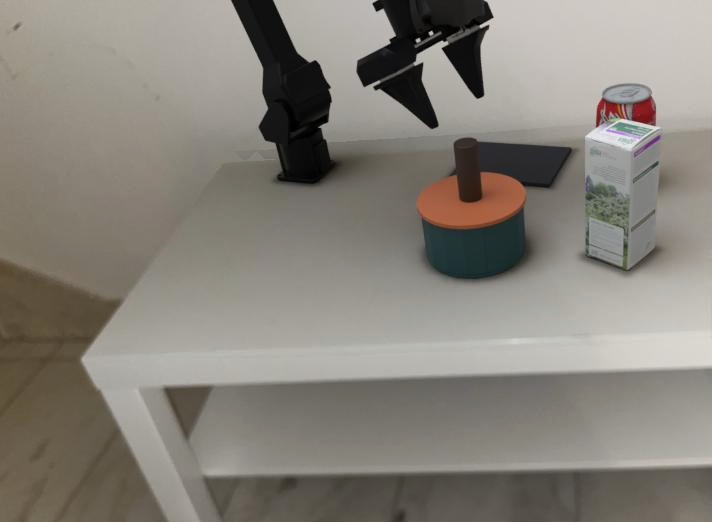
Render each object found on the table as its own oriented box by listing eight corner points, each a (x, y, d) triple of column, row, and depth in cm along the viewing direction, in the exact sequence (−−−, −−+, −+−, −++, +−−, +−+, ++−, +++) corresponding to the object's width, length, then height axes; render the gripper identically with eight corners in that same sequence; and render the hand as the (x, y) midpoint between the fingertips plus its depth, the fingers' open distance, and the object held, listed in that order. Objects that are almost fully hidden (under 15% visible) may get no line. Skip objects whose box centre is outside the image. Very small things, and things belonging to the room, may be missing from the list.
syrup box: (656, 248, 85) (665, 124, 76) (626, 273, 82) (631, 147, 73) (613, 233, 89) (616, 113, 80) (582, 257, 86) (582, 134, 77)
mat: (449, 178, 105) (449, 175, 104) (477, 144, 112) (477, 141, 112) (549, 187, 99) (549, 183, 99) (571, 150, 107) (571, 147, 107)
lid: (400, 227, 84) (389, 163, 79) (442, 176, 92) (434, 116, 88) (505, 239, 79) (501, 172, 75) (540, 184, 88) (537, 121, 83)
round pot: (412, 271, 88) (404, 221, 84) (449, 221, 96) (443, 173, 92) (506, 284, 83) (503, 232, 79) (537, 231, 91) (535, 181, 87)
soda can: (584, 188, 98) (584, 97, 91) (614, 166, 102) (617, 77, 94) (632, 202, 94) (636, 108, 87) (662, 179, 98) (669, 86, 90)
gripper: (392, -29, 72) (462, 126, 77) (499, -75, 83) (554, 63, 88) (323, 14, 80) (391, 151, 85) (429, -34, 91) (483, 90, 96)
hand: (458, 112), depth 89 cm, fingers open, 9 cm apart
